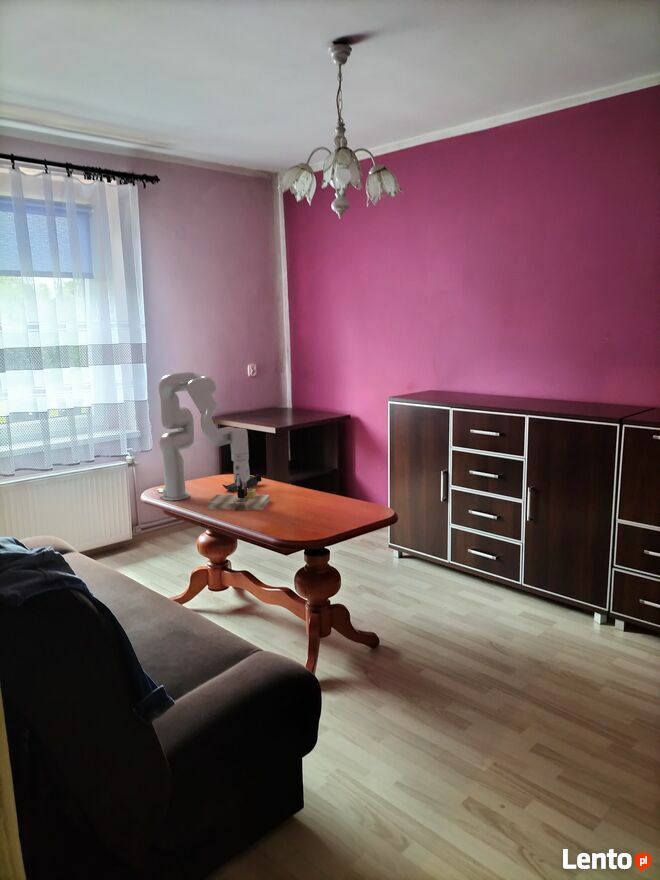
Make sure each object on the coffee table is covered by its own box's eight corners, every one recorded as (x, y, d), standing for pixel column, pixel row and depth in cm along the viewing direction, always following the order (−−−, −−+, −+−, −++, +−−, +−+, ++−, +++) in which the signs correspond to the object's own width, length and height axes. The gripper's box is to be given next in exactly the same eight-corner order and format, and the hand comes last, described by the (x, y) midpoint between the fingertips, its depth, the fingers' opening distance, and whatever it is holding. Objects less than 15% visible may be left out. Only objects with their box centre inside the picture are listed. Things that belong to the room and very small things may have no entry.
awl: (238, 505, 287) (237, 479, 285) (240, 503, 290) (239, 477, 287) (245, 505, 286) (243, 479, 284) (247, 503, 289) (245, 477, 287)
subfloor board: (206, 510, 285) (206, 503, 284) (218, 499, 301) (217, 493, 301) (261, 510, 281) (261, 504, 281) (270, 500, 298) (270, 494, 298)
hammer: (229, 497, 314) (216, 439, 306) (224, 495, 318) (211, 438, 309) (262, 482, 327) (250, 426, 318) (256, 480, 330) (244, 425, 322)
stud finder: (240, 498, 292) (240, 491, 291) (243, 495, 297) (242, 488, 296) (253, 498, 291) (252, 491, 290) (255, 495, 296) (255, 488, 295)
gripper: (243, 460, 276) (245, 501, 279) (252, 452, 292) (255, 492, 295) (226, 460, 277) (229, 501, 280) (236, 452, 293) (239, 492, 296)
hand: (242, 496), depth 287 cm, fingers closed on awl, 3 cm apart
